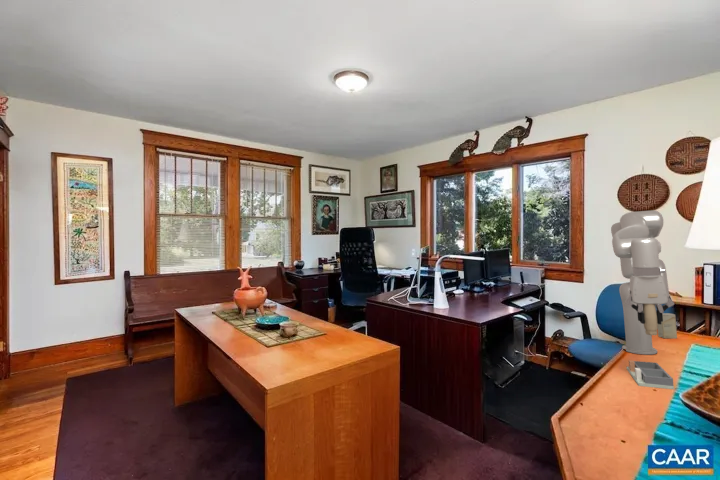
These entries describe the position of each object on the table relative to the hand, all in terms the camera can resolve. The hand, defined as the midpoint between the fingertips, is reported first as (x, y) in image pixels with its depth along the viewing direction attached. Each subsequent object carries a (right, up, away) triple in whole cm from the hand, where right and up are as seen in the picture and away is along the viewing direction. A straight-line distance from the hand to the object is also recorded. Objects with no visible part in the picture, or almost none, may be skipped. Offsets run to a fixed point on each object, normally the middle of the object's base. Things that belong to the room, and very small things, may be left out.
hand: (650, 322), depth 124 cm
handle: (0, -4, 0) cm, 4 cm away
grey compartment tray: (+2, -22, +4) cm, 22 cm away
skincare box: (+54, -21, +53) cm, 79 cm away
